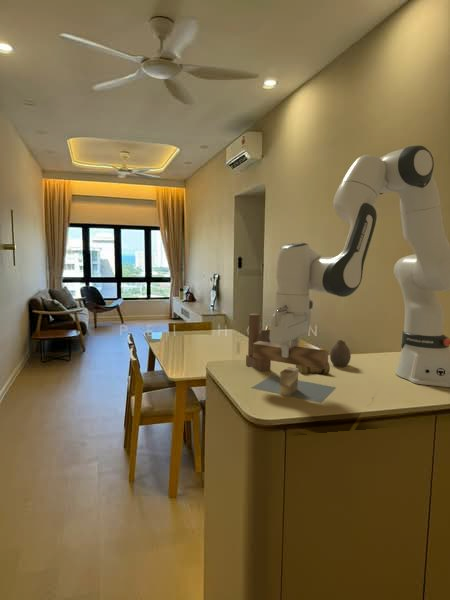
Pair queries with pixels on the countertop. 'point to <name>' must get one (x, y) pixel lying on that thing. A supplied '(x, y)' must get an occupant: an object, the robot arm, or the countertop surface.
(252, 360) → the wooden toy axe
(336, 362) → the vase
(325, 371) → the gavel
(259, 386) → the slate mat
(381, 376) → the countertop surface
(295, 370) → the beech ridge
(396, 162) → the robot arm
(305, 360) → the walnut bar
